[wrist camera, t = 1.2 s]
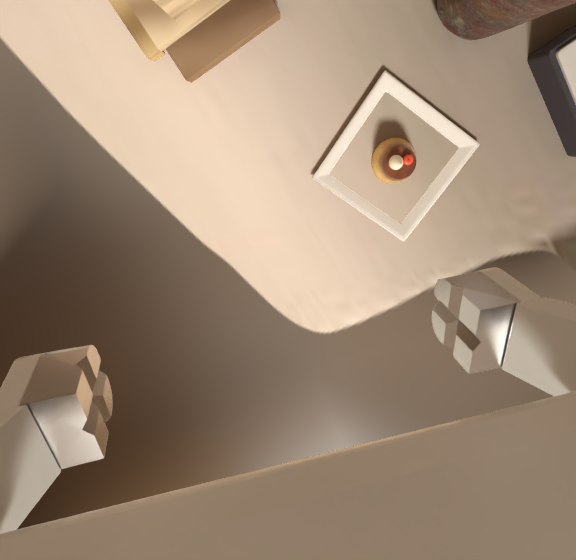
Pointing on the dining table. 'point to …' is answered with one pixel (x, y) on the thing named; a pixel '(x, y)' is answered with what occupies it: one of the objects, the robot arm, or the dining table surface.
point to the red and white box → (559, 84)
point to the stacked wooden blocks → (162, 20)
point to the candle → (492, 15)
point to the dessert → (396, 157)
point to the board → (221, 35)
